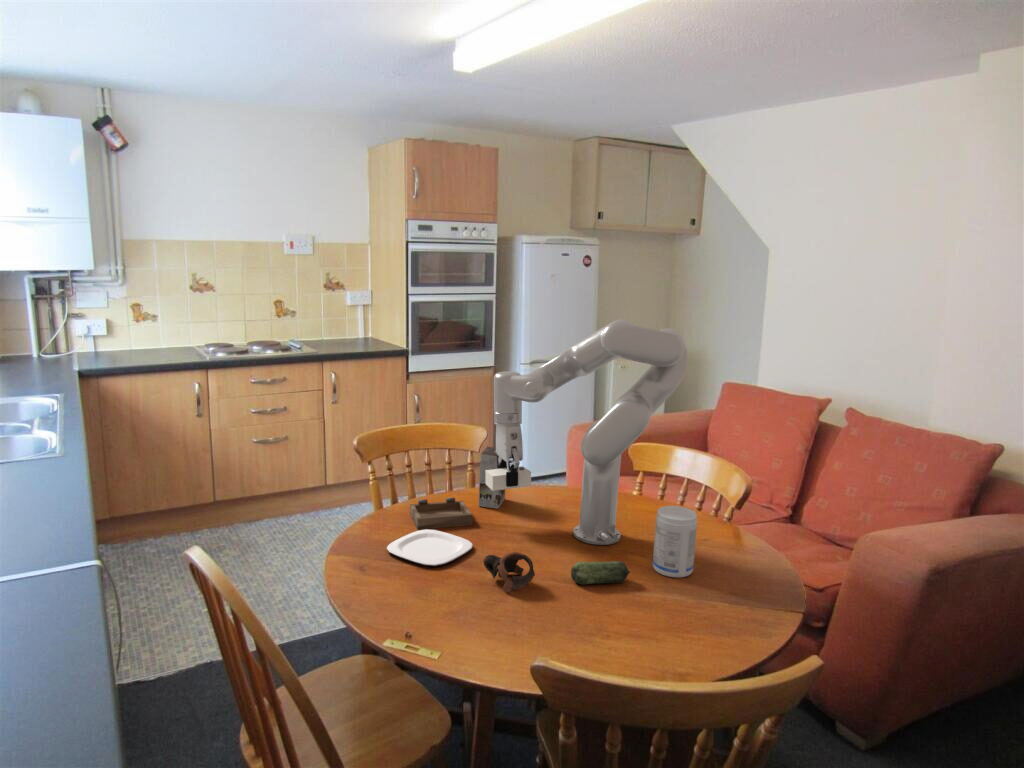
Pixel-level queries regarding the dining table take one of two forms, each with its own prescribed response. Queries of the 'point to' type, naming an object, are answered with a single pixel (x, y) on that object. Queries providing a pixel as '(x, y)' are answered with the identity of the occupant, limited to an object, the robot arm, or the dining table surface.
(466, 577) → the dining table surface
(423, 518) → the brown wooden tray
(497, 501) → the coffee box
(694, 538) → the supplement tub
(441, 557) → the plate
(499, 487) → the white foam brick
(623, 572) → the vegetable
